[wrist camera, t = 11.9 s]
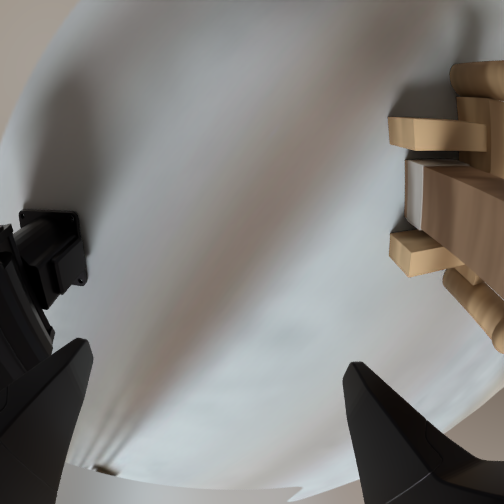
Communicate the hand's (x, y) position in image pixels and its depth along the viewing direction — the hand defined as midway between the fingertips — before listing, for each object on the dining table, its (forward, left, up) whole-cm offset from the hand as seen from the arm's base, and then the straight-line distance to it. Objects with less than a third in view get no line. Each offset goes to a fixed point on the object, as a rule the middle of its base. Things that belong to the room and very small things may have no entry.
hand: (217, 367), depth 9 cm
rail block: (+15, +5, -13) cm, 20 cm away
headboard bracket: (+16, +5, -13) cm, 21 cm away
